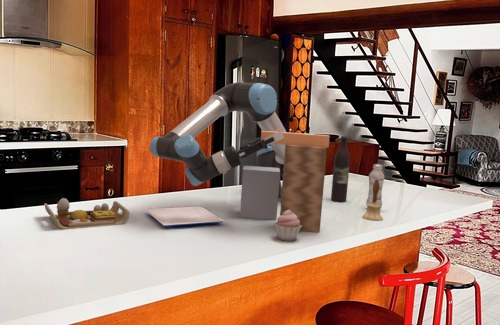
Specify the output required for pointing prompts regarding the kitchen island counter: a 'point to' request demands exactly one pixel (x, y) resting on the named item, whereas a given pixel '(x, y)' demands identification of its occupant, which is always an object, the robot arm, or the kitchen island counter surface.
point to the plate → (183, 216)
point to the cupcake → (287, 226)
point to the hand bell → (373, 205)
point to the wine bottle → (341, 173)
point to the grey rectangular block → (259, 192)
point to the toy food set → (88, 216)
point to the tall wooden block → (304, 184)
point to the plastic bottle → (373, 176)
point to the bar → (299, 139)
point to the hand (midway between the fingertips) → (282, 132)
